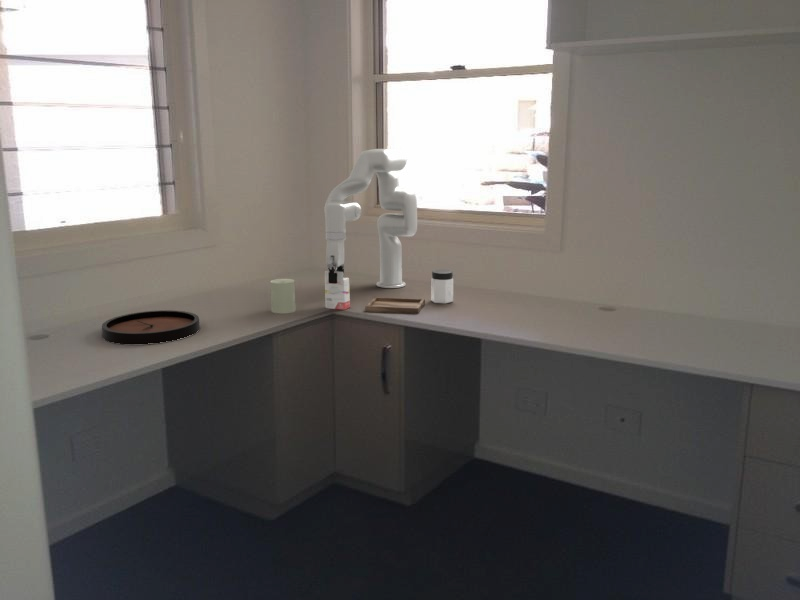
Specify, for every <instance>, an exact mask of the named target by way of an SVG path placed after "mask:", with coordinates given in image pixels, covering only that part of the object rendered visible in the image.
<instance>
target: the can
mask: <svg viewBox="0 0 800 600" xmlns="http://www.w3.org/2000/svg"><path fill="white" fill-rule="evenodd" d="M269 285H270V302H271V304H270V305H271V307H270V308H271V310H270V312H271V313H273V314H277V315H279V314H280V315H286V314H292V313H294V312H296V311H297V309H296V295H295V294H296V292H295V279H292V278H276V279H271V280H270V281H269Z"/></svg>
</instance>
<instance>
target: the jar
mask: <svg viewBox="0 0 800 600" xmlns="http://www.w3.org/2000/svg"><path fill="white" fill-rule="evenodd" d="M453 276H454V275H453V271H452V270H450V269H435V270H432V271H431V279H430V281H431V282H430V283H431V284H430V292H431V293H430V301H432V302H433V303H434V304H448V303H452V302H454V278H453Z"/></svg>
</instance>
